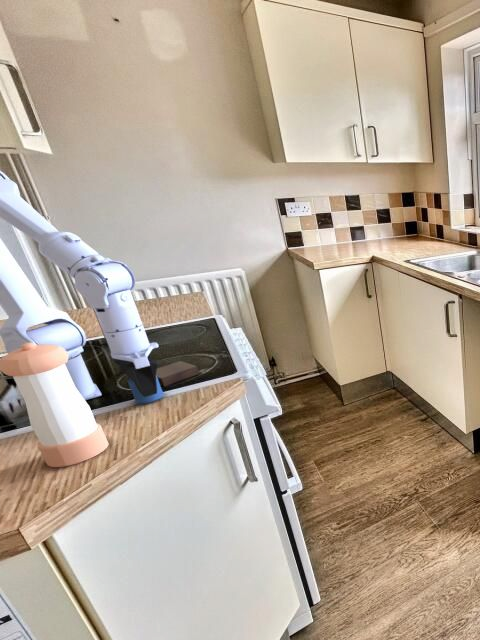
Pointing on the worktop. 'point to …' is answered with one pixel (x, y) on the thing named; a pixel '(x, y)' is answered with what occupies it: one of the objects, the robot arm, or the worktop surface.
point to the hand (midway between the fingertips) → (147, 391)
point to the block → (175, 372)
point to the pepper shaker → (54, 405)
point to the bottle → (141, 399)
